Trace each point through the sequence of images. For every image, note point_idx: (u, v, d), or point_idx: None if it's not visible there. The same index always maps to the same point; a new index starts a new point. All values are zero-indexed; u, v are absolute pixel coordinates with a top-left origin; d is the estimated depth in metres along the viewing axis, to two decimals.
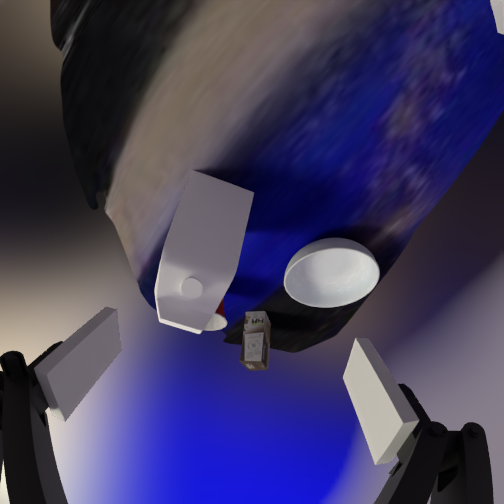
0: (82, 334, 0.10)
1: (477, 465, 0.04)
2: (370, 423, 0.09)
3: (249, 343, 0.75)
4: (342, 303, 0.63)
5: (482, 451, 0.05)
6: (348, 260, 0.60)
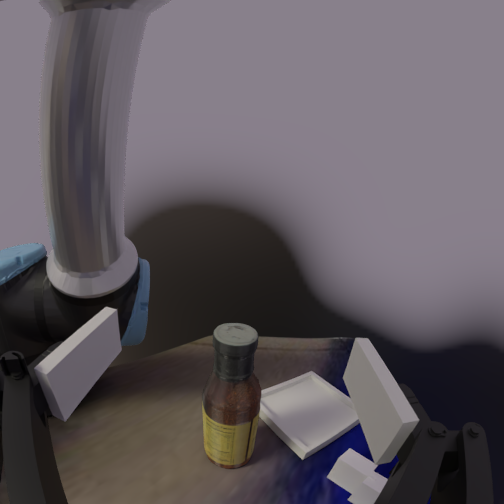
0: (82, 334, 0.10)
1: (477, 465, 0.04)
2: (370, 423, 0.09)
3: None
4: None
5: (482, 451, 0.05)
6: None
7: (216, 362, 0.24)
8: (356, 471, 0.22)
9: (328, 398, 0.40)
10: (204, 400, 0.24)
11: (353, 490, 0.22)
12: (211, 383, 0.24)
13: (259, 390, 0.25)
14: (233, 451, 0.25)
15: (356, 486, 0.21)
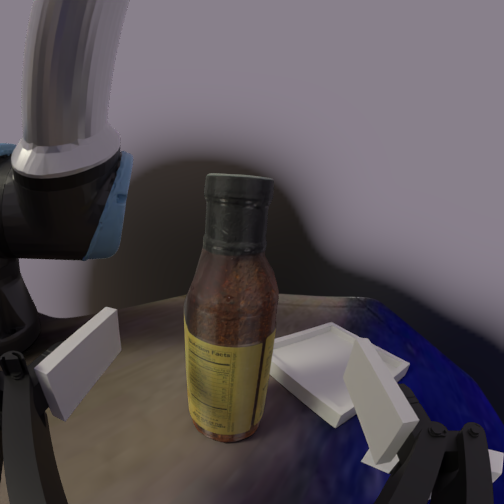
0: (82, 334, 0.10)
1: (477, 465, 0.04)
2: (371, 423, 0.09)
3: None
4: None
5: (482, 451, 0.05)
6: None
7: (208, 223, 0.16)
8: None
9: None
10: (186, 304, 0.17)
11: None
12: (198, 266, 0.16)
13: (275, 284, 0.17)
14: (232, 406, 0.17)
15: None
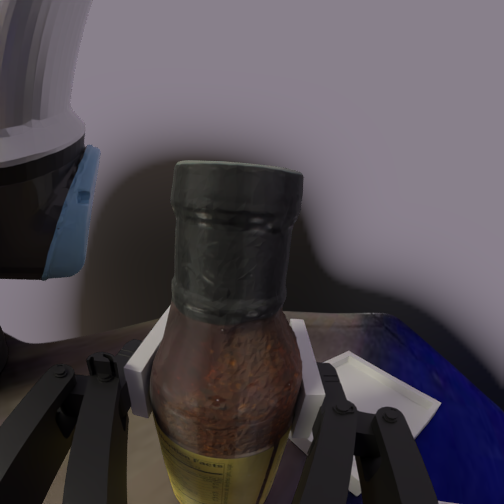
0: (160, 331, 0.12)
1: (402, 452, 0.06)
2: None
3: None
4: None
5: (404, 436, 0.07)
6: None
7: (177, 258, 0.08)
8: None
9: (380, 389, 0.25)
10: (150, 386, 0.09)
11: None
12: (164, 334, 0.08)
13: (299, 360, 0.09)
14: None
15: None
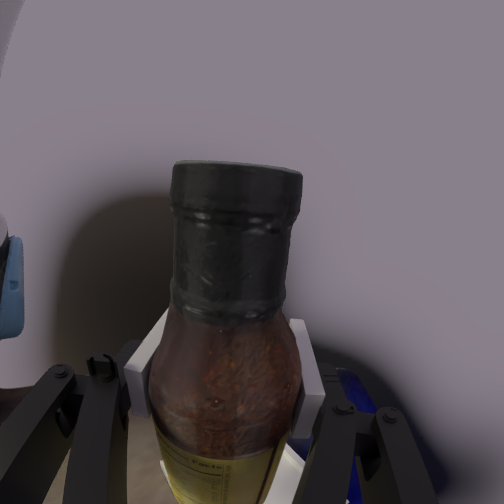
0: (160, 331, 0.12)
1: (402, 453, 0.06)
2: None
3: None
4: None
5: (404, 436, 0.07)
6: None
7: (175, 258, 0.08)
8: None
9: (290, 475, 0.22)
10: (149, 387, 0.09)
11: None
12: None
13: (299, 361, 0.09)
14: None
15: None
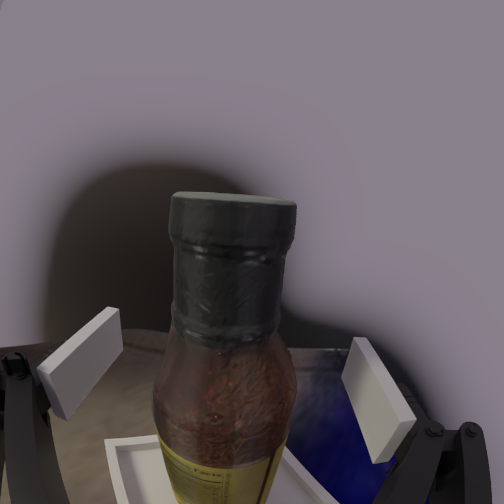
0: (84, 334, 0.10)
1: (475, 464, 0.04)
2: (368, 422, 0.09)
3: None
4: None
5: (480, 450, 0.05)
6: None
7: (176, 285, 0.08)
8: None
9: (276, 477, 0.16)
10: (152, 401, 0.09)
11: None
12: (165, 354, 0.09)
13: (294, 377, 0.10)
14: None
15: None
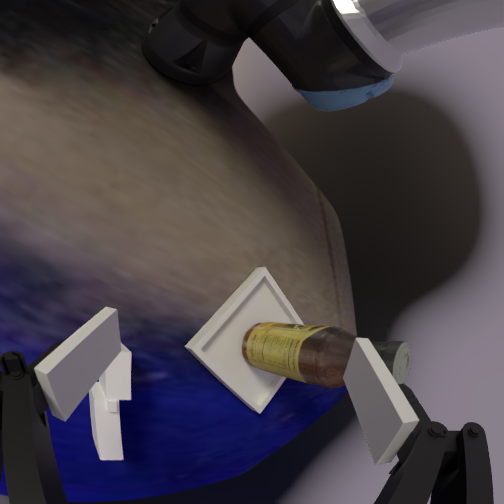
0: (82, 334, 0.10)
1: (477, 465, 0.04)
2: (371, 423, 0.09)
3: None
4: None
5: (482, 451, 0.05)
6: None
7: None
8: (105, 382, 0.19)
9: None
10: (319, 337, 0.24)
11: (100, 382, 0.22)
12: (342, 346, 0.22)
13: (343, 385, 0.23)
14: (266, 364, 0.29)
15: (101, 385, 0.21)
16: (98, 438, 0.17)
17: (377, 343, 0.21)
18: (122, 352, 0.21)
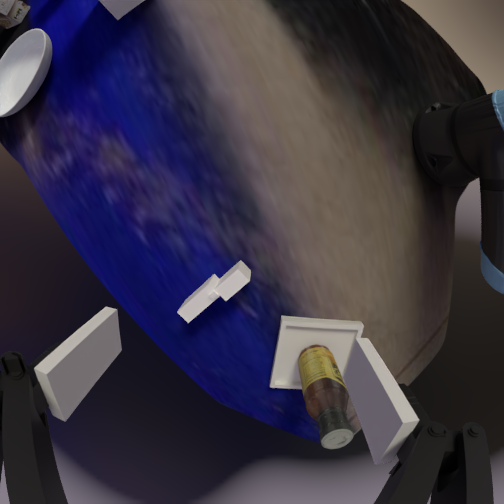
0: (82, 334, 0.10)
1: (477, 465, 0.04)
2: (371, 423, 0.09)
3: (6, 0, 0.19)
4: None
5: (482, 451, 0.05)
6: (21, 93, 0.35)
7: (336, 414, 0.28)
8: (222, 282, 0.38)
9: None
10: (333, 384, 0.33)
11: (219, 279, 0.42)
12: (333, 399, 0.30)
13: (312, 417, 0.32)
14: (302, 368, 0.40)
15: (219, 281, 0.41)
16: (189, 302, 0.39)
17: (345, 417, 0.28)
18: (245, 277, 0.38)
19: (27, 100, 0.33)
